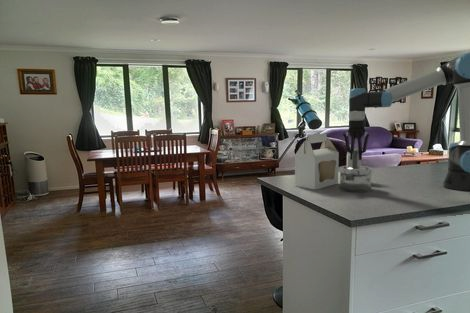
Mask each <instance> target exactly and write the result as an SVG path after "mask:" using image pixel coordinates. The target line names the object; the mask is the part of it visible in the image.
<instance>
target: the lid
mask: <svg viewBox="0 0 470 313" xmlns="http://www.w3.org/2000/svg"><path fill="white" fill-rule="evenodd" d="M358 153H359V151H358V150H357V149H356V150H354V151H353V163H352V166H348V167H346V169H349V170H366V167H361V166H362V165H361V166H359V167H357V154H358Z"/></svg>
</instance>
